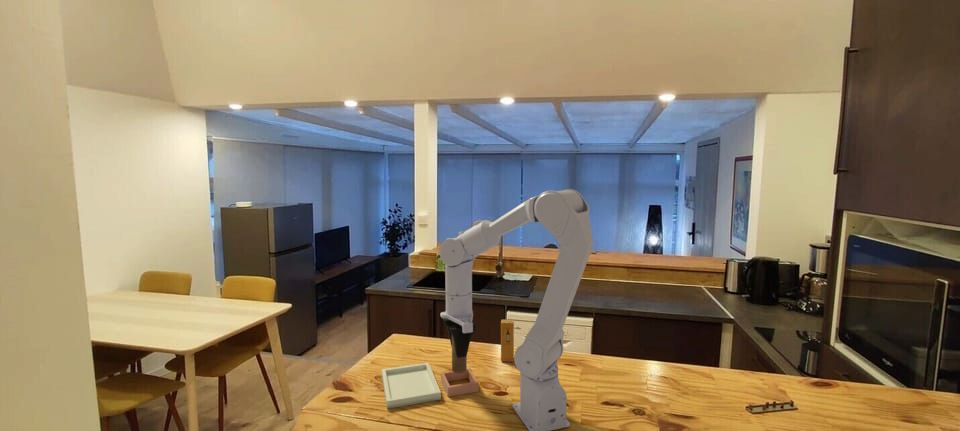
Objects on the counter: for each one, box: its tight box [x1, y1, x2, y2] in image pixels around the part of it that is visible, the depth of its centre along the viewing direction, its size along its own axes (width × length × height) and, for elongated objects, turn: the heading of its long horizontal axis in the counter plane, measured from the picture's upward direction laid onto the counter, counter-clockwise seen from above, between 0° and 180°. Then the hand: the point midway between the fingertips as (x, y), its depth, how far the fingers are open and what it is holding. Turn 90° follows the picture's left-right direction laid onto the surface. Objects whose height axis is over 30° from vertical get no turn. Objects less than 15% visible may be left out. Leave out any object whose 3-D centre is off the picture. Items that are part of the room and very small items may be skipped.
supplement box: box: [500, 319, 515, 363], centre depth 102 cm, size 3×3×10 cm
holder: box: [440, 368, 480, 398], centre depth 89 cm, size 7×7×2 cm
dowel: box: [451, 337, 468, 373], centre depth 88 cm, size 3×3×9 cm
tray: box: [381, 362, 442, 410], centre depth 89 cm, size 14×11×2 cm
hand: (459, 352), depth 88 cm, fingers closed on dowel, 3 cm apart
